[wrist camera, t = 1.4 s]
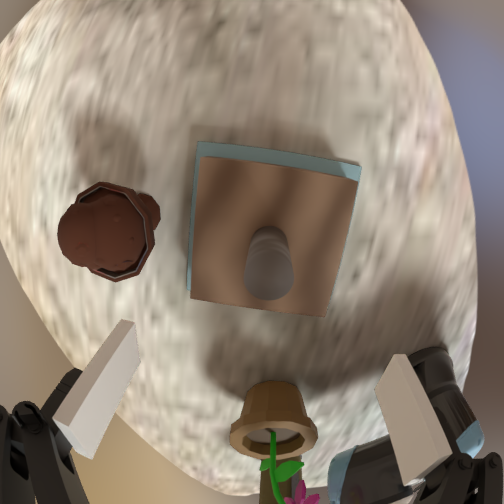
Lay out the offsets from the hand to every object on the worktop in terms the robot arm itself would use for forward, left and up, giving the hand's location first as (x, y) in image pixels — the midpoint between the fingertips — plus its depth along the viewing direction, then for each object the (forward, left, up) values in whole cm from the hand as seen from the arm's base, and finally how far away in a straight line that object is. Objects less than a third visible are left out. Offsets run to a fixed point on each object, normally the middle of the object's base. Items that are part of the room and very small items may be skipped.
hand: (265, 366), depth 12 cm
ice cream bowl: (+17, 0, -24) cm, 29 cm away
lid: (0, 0, -23) cm, 23 cm away
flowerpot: (-6, +31, -24) cm, 40 cm away
